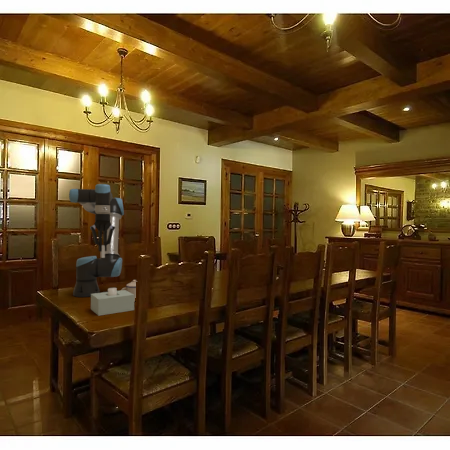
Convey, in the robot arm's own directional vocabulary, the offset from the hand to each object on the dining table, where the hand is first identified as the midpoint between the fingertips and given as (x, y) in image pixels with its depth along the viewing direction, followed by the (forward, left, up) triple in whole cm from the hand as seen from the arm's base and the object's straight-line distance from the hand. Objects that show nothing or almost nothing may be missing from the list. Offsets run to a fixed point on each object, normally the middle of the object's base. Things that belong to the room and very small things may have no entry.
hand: (102, 257), depth 182 cm
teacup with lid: (-5, +18, -27) cm, 33 cm away
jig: (+9, +3, -26) cm, 28 cm away
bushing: (+9, +2, -26) cm, 28 cm away
